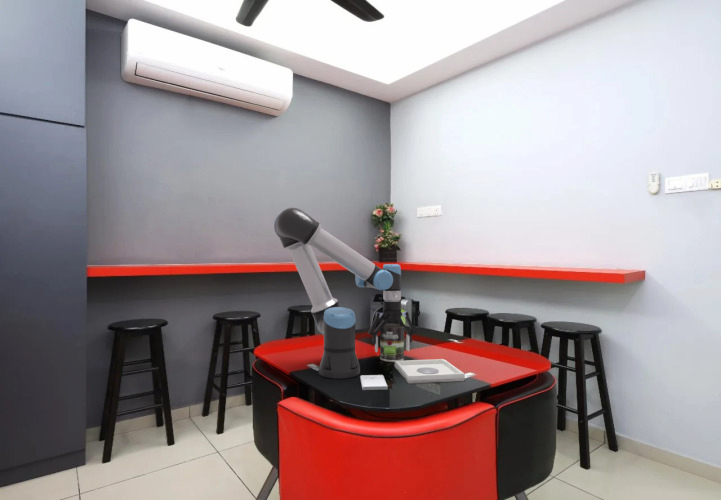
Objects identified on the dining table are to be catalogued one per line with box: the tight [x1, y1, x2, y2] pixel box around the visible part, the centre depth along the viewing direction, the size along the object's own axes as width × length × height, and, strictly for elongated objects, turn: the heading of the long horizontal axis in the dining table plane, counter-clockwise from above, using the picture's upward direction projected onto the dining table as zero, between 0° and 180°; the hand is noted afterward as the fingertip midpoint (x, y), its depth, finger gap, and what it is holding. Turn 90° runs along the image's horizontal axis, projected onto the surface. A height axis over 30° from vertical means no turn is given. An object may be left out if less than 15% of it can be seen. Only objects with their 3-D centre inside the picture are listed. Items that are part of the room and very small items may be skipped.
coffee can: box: [379, 323, 405, 363], centre depth 167 cm, size 10×10×14 cm
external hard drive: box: [359, 374, 389, 391], centre depth 134 cm, size 2×8×12 cm
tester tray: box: [394, 358, 466, 384], centre depth 145 cm, size 20×20×2 cm
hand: (392, 351), depth 167 cm, fingers open, 13 cm apart
